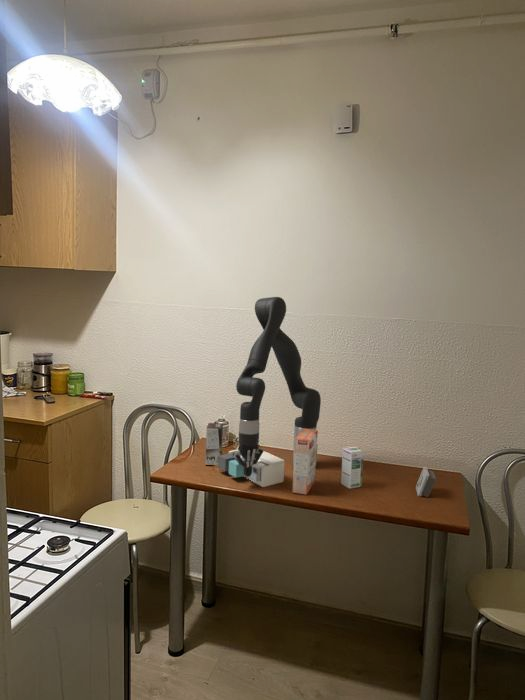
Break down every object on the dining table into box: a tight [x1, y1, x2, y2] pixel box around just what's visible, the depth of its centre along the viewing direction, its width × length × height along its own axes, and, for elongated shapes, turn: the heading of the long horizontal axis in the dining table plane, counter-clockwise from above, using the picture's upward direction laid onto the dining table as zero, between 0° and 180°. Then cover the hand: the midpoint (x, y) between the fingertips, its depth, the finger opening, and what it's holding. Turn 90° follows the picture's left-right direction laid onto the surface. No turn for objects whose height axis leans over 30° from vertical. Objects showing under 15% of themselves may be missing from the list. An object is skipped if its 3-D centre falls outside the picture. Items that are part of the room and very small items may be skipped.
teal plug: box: [228, 458, 245, 478], centre depth 200 cm, size 10×5×5 cm, turn 127°
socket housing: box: [228, 445, 285, 488], centre depth 204 cm, size 10×23×9 cm, turn 37°
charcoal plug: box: [217, 452, 241, 472], centre depth 206 cm, size 10×5×5 cm, turn 127°
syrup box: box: [340, 446, 364, 489], centre depth 197 cm, size 6×6×14 cm
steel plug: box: [248, 462, 269, 482], centre depth 197 cm, size 10×5×5 cm, turn 128°
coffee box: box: [205, 422, 224, 465], centre depth 216 cm, size 9×6×16 cm
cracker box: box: [291, 429, 319, 496], centre depth 192 cm, size 14×6×21 cm, turn 163°
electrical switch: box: [415, 466, 437, 498], centre depth 192 cm, size 9×5×9 cm, turn 169°
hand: (247, 475), depth 192 cm, fingers closed
